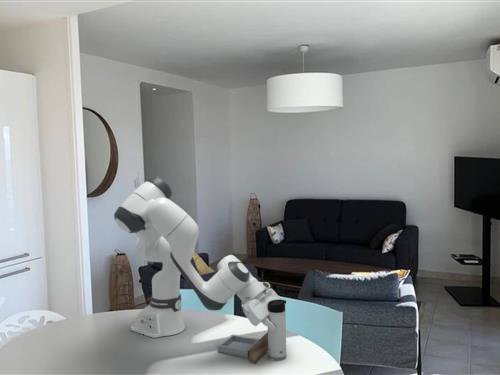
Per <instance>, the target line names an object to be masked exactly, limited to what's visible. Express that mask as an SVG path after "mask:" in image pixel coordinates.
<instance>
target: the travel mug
mask: <svg viewBox="0 0 500 375" xmlns="http://www.w3.org/2000/svg"><path fill="white" fill-rule="evenodd" d="M286 304H287V300H286V299H281V298H280V299H278V300H272V301H270V302H269V303H268V304H267V306H268V312H269V313H270V314H269V315H268V317H267V318H268V319H269V321H270V322H271V323H272V324H273V323H274V324H275V325H276V328H275V329H274V330H273V331H271V330H270V328H269V327H267V332H268V351H267V352H268V353H267V354H268V358H269V359H270V360H272V361H282V360H284V359H286V358H287V332H286V331H287V329H286V328H287V327H286V326H287V324H286V323H287V322H286V321H287V319H286V317H287V316H286V312H287V311H286Z"/></svg>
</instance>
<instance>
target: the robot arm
mask: <svg viewBox="0 0 500 375" xmlns="http://www.w3.org/2000/svg"><path fill="white" fill-rule="evenodd" d="M172 195H173V192H172V188H171V186H170V185H169V183H168V182H167V181H166V180H164V179H163V178H162V177H160V176H157V175H156V176H155V175H152V176H151V177H149V178H147V179H145V181H144V182H143V183H142V184H141V185H139V186H138V187H137V188H135V189H134V190H133V191H132V192H131V193H130V195H129V196H127V197H126V198H125V199H124V200H123V203H122V204H121V205H120V206H118V208H116V210H115V212H114V214H113V219H114V221H115V222H116V224H117V226H118V227H119V228H120V229H121V230H123V231H124V232H127V233H128V234H135V235H136V236H137V240H136V241H135V245H134V252H135V255H136V257H137V258H138V259H140V260H143V261H147V262H151V263H152V262H153V263H162V267H161V270H159V271H158V272H156V273H155V274H154V275H153V276H152V279H151V289H152V290H151V292H152V294H151V296H150V297H147V298H146V299H147V300H146V301H147V302H149V303H148V305H146V306H145V307H144V308H143V309H142V310H140V311H139V312H138V314H137V316H136V322H135V323H133V324H132V325H131V326H130V331H133V332H134V333H138V334H141V335H143V334H144V336H147V337H150V338H153V339H154V338H160V337H168V336H173V335H177V334H179V333H182V332H183V331H184V330H186V326H185V324H184V322H185V321H184V319H183V314H182V295H181V292H180V291H181V288H180V287H181V283H180V282H181V275H182V277H183V278H184V280H185V281H186V282H187V283H188V285H189V286H190V287H191V289H192V290H193V292H194V293H195V295H196V296H197V297H198V299H199V301H200V302H201V304H202V306H203V307H204V308H206V309H207V310H209V311H213V312H214V311H221V310H222V309H223V308H224V307H225V306H226V305H227V303H228V301H230V300H231V299H232V298H233V297H234V296H235V295H237V297H238V298H239V299H240V300H241V308H242V312H243V313H244V315H245V317H246V318H247V320H249V322H250V324H251V325H253V326H254V327H257V326H259V325H260V324H261V323H262V325H264V326H265V327H266V328H268V327H269V328H270V330H271V331H273V330H274V329H275V328H276V325H275V324H274V323H273V324H272V323H271V322H270V321H269V319H268V315H269V314H270V313H269V312H268V306H267V304H268V303H269V302H270V301H272V300H278V299H281V298H280V296H279V295H278V294H277V292H276V291H275V290H274V289H273V288H271V284H270V283H269V282H266V281H265V282H264V281H259V280H258V279H257V278H256V277H254V276H253V275H252V273H251V271H250V270H249V268H248V267H247V266H246V265H245V264H244V263H243V262H242V261H241V260H240V259H239V258H237V257H236V256H235V255H233V254H229V255H226V256H224V257H223V258H221V259H220V261H219V262H218V263H217V266H216V268H217V272H216V273H215V274H214V275H213V276H212V277H210V278H209V279H208V281H207V280H206V281H205V280H204V279H203V278H202V276H201V275H200V274H199V273H198V271H197V270H196V269H195V267H194V265H193V264H192V263H191V262H192V261H191V260H192V259H193V257H194V255H195V251H196V249H195V248H196V245H197V242H198V239H199V237H200V236H199V234H200V230H199V229H200V228H199V225H198V224H197V222H196V221H195V220H194V218H192V216H191V215H189V213H187V212H186V211H185V210H184V209H183V208H181V207H180V206H179V205H178V204H177V203H175V202H173V201H172V200H171V198H172Z"/></svg>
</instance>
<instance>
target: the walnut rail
mask: <svg viewBox="0 0 500 375" xmlns="http://www.w3.org/2000/svg"><path fill="white" fill-rule="evenodd" d="M258 339H259V340H258V341H257V342H256V343H255V344H254V345H253V346H252V347H250V348H249V354H250V357H249V363H250V364H253V365H255V364H257V363H258V362H259V361H260V359H262V358H263V357H264V356H265V355H266V353H267V352H268V331H267V332H266V333H265V334H263V335H262V337H260V338H258Z"/></svg>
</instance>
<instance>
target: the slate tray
mask: <svg viewBox="0 0 500 375" xmlns="http://www.w3.org/2000/svg"><path fill="white" fill-rule="evenodd" d="M259 339H260V338H256V337H249V336H243V335H238V334H233V333H232V334H231V335H229V336H228V337H226V339H224V340H223V341H221V342H220V343H219V344H218V345H217V354H218V353H219V354H223V355H229V356H232V357H238V358H242V359H243V358H244V359H250V354H249V348H250V347H252V346H253V345H254V344H255V343H256V342H257V341H258V340H259Z"/></svg>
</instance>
